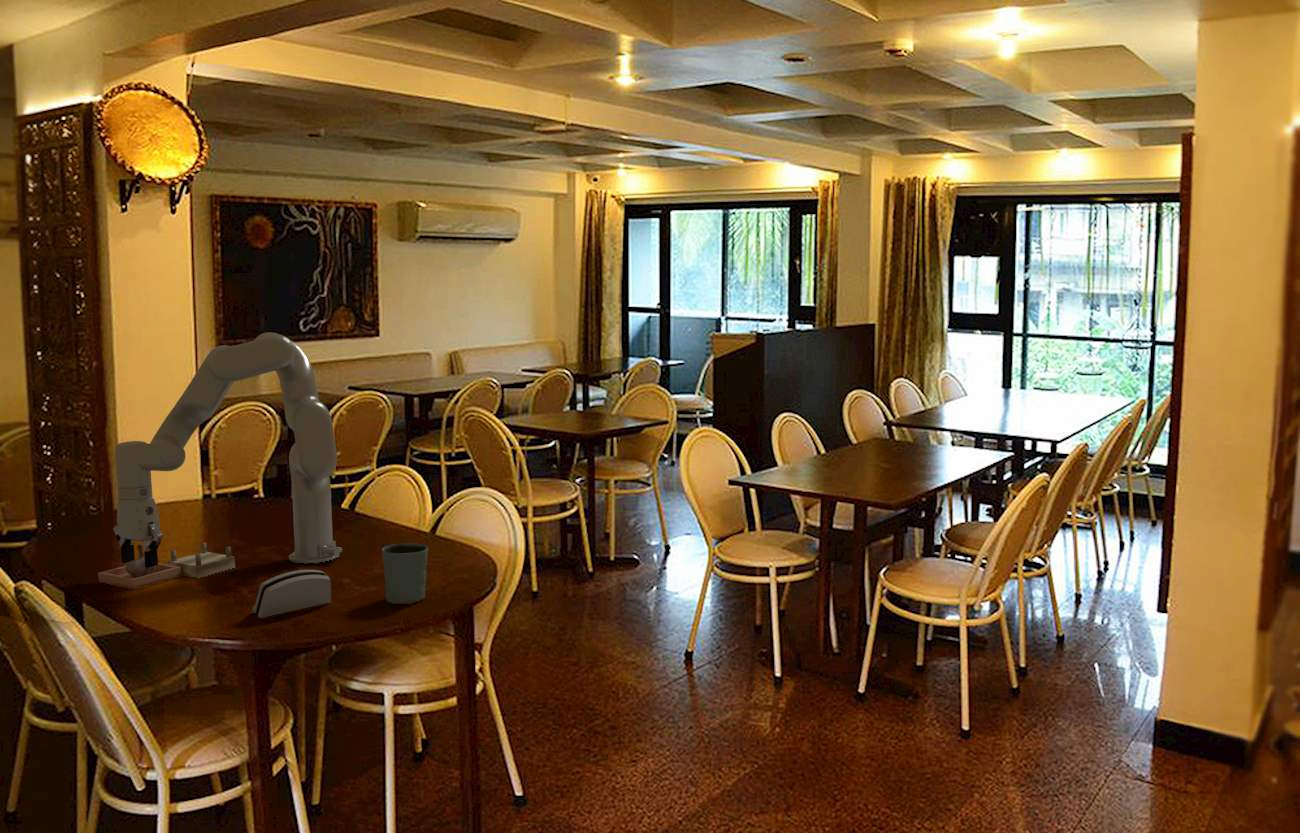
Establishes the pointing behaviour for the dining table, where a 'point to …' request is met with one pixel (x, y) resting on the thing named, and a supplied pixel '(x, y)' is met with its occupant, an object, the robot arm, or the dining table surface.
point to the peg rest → (203, 562)
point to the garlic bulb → (139, 566)
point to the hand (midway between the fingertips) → (139, 563)
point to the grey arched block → (292, 592)
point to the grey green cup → (405, 572)
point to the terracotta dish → (126, 580)
